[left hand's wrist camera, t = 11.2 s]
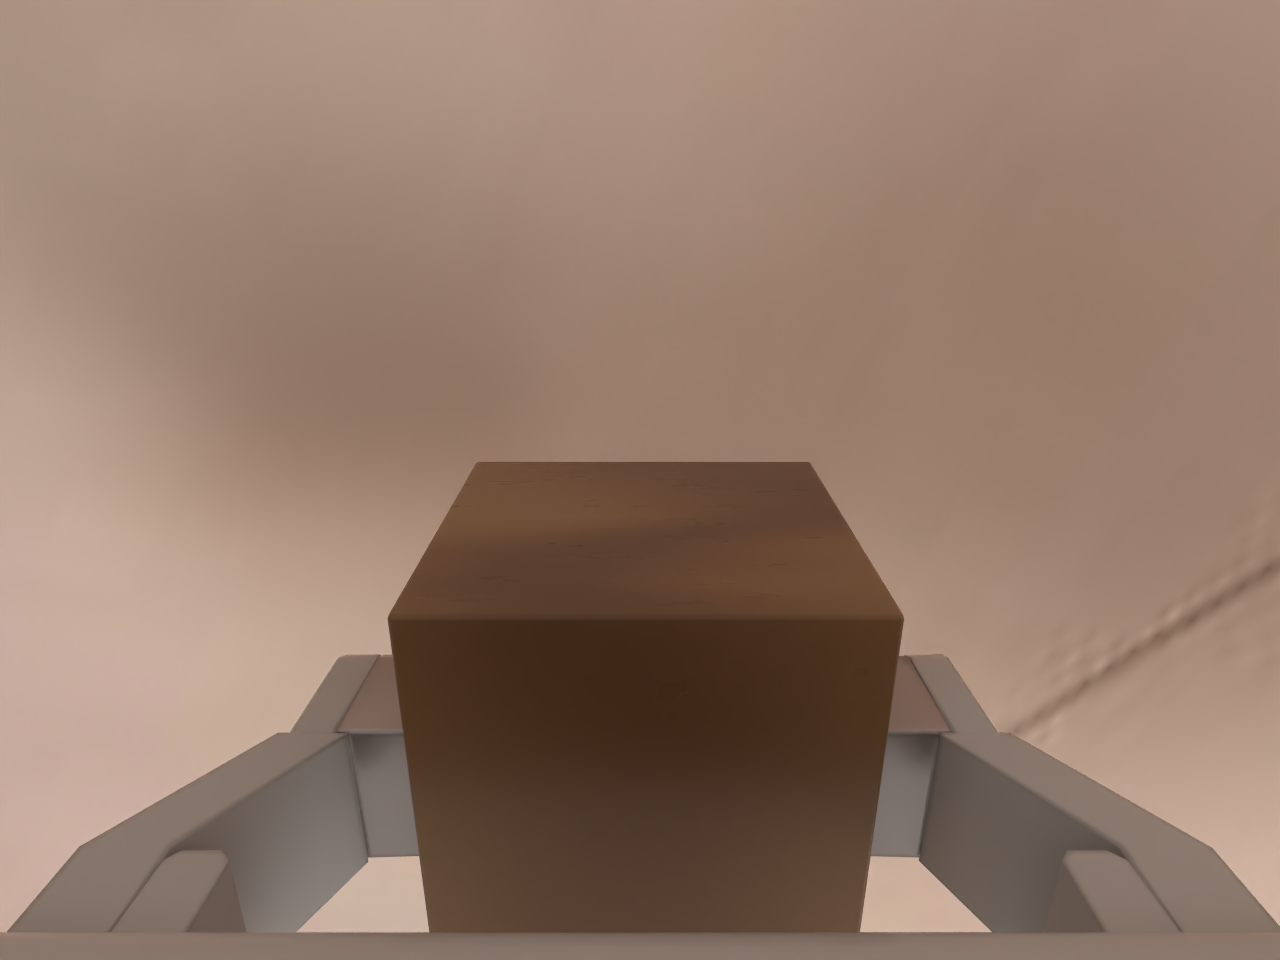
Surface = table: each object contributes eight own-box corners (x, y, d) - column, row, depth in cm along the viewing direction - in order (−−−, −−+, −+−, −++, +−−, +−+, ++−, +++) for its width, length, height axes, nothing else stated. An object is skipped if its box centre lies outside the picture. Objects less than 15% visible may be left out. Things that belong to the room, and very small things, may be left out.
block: (810, 460, 11) (906, 617, 7) (786, 747, 13) (851, 998, 9) (476, 460, 11) (385, 616, 7) (498, 747, 13) (437, 999, 9)
